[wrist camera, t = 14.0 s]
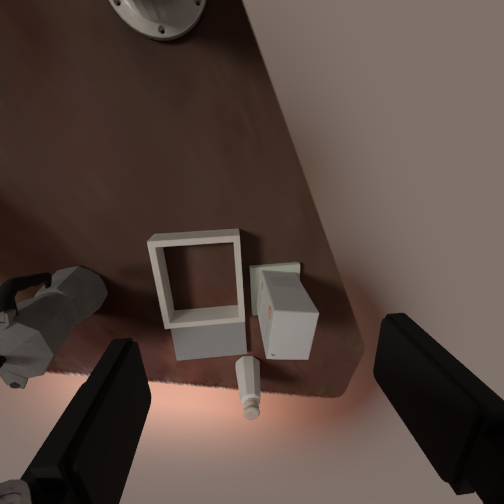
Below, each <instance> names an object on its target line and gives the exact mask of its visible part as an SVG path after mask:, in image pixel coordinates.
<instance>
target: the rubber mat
mask: <svg viewBox="0 0 504 504" xmlns="http://www.w3.org/2000/svg"><path fill="white" fill-rule="evenodd" d="M261 270H269V271H285V272H295V274H296V275H297V277H298V279H299V280H300V263H299V262H291V263H278V264H265V265H251V266H250V285H251V305H252V316H255V315H258V313H257V308H256V307H257V298H258V290H259V283H260V276H261Z"/></svg>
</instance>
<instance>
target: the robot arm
mask: <svg viewBox="0 0 504 504" xmlns="http://www.w3.org/2000/svg"><path fill="white" fill-rule="evenodd" d="M109 1H110V3H111V5H112V6H113V8H114V10H115V11H116V12H117V13H118V15H119V16H120V17H121V18H122V20H123V21H124V22H125V23H126V24H127V25H128V26H129V27H131V28H132V29H133V30H135V31H136V32H137V33H139V34H141V35H143V36H145V37H147V38H150V39H154V40H159V41H168V40H174V39H177V38H179V37H181V36H184V35H185V34H186V33H188V32H189V31H190V30H192V28H193V27H194V26H195V25H196V24H197V22H198V21H199V19H200V17H201V15H202V13H203V11H204V8H205V5H206V2H207V0H109ZM197 3H199V4H200V5H199V6H197V5H196V4H197ZM118 4H120V6H118ZM162 31H165V33H164V34H161V33H162ZM373 373H374V377H375V379H376V381H377V383H378V384H379V386H380V387H381V389H382V390H383V392H384V393H385V395H386V396H387V398H388V399H389V401H390V402H391V404H392V405H393V407H394V408H395V410H396V411H397V413H398V414H399V416H400V417H401V419H402V420H403V422H404V423H405V425H406V426H407V428H408V429H409V431H410V432H411V434H412V435H413V437H414V438H415V440H416V442H417V443H418V445H419V446H420V448H421V449H422V451H423V452H424V454H425V455H426V457H427V458H428V459H429V461H430V463H431V464H432V466H433V467H434V469H435V470H436V472H437V473H438V475H439V476H440V477H441V479H442V480H443V481H445V482H447V483H449V484H450V486H451V487H452V489H453V490H454V492H455V493H456V495H462V494H469V493H474V492H475V491H476V493H477V495H478V496H479V497H480V499H481V500H482V501H483V504H504V400H503V399H501V398H500V397H499V396H498V395H497V394H496V393H494V391H492V390H491V389H490V388H489V387H488V386H487V385H486V384H484V383H483V382H482V381H481V380H480V379H479V378H478V377H476V376H475V375H474V374H473V373H472V372H471V371H470V370H469V369H467V368H466V367H465V366H464V365H463V364H462V363H461V362H459V361H458V360H457V359H456V358H455V357H454V356H452V354H450V353H449V352H448V351H447V350H446V349H445V348H443V347H442V346H441V345H440V344H439V343H438V342H437V341H436V340H434V339H433V338H432V337H431V336H430V335H429V334H428V333H426V332H425V331H424V330H423V329H422V328H421V327H420V326H419V325H417V324H416V323H415V322H414V321H413V320H412V319H411V318H409V317H408V316H407V315H406V314H404V313H394V314H387V315H386V317H385V318H384V319H382V323H381V328H380V334H379V340H378V346H377V352H376V358H375V363H374V369H373ZM150 404H151V392H150V388H149V385H148V381H147V377H146V373H145V369H144V365H143V361H142V358H141V354H140V350H139V346H138V343H137V342H133V340H132V339H131V338H123V339H114V340H113V341H112V342H111V343H110V345H109V346H108V348H107V349H106V351H105V352H104V354H103V356H102V357H101V359H100V360H99V362H98V363H97V365H96V367H95V368H94V370H93V371H92V373H91V374H90V376H89V377H88V379H87V381H86V382H85V383H84V384H82V386H81V387H80V388H79V390H78V391H77V393H76V394H75V396H74V397H73V399H72V400H71V402H70V403H69V405H68V406H67V408H66V409H65V411H64V412H63V414H62V416H61V417H60V419H59V420H58V422H57V423H56V425H55V426H54V428H53V429H52V431H51V432H50V434H49V436H48V437H47V439H46V440H45V442H44V443H43V445H42V447H41V448H40V449H39V451H38V452H37V454H36V456H35V457H34V459H33V460H32V462H31V463H30V465H29V466H28V468H27V469H26V471H25V473H24V474H23V476H22V477H21V479H17V480H8V481H5V482H2V483H0V504H119V502H120V499H121V496H122V493H123V490H124V487H125V483H126V480H127V477H128V474H129V471H130V468H131V465H132V461H133V458H134V455H135V452H136V449H137V445H138V443H139V439H140V436H141V433H142V430H143V427H144V424H145V421H146V417H147V414H148V411H149V408H150Z"/></svg>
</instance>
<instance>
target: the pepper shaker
mask: <svg viewBox="0 0 504 504" xmlns="http://www.w3.org/2000/svg"><path fill="white" fill-rule="evenodd" d="M236 374H237V381H238V387H239V394H240V400H241V404H242V405H243V406H244V417H245V418H247V419H249V420H253V419H256V418H257V417H258V416H259V414H260V411H259V405H258V404H259V403H260V361H259V360H257V359H256V358H255V357H253V356H243V357H242V358H240V359H239V360H238V361H237V362H236Z"/></svg>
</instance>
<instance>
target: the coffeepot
mask: <svg viewBox="0 0 504 504" xmlns="http://www.w3.org/2000/svg"><path fill="white" fill-rule="evenodd" d="M42 282H44V286H43V287H42V288H41V289H40V290H39V291H38V292H37V294H36V295H35V297H34V298H31V299H28V300H24V301H22V302H20V303H18V304H16V303H15V295H16V294H17V292H18V291H22V290H24V289H26V288H28V287H31V286H38V285H40V284H41V283H42ZM107 295H108V292H107V289H106V286H105V283H104V282H103V280H102V279H101V277H100V276H99V275H98V274H96V273H95V272H93V271H91V270H89V269H86V268H82V267H80V266H76V267H69V268H66V269H61V270H58V271H57V272H56V273H55V274H54V275H53V276H51V274H50V273H40V274H35V275H29V276H23V277H15V278H11V279H9V280H7V281H5V282H4V283H3V284H2V285H1V286H0V377H1V378H2V379H3V381H4V382H5V383H6V384H7V385H9V386H10V387H11V388H21V389H24V388H25V386H26V384H27V380H28V378H30V377H35V376H40V375H44V373H45V372H46V370H47V369H48V367H49V365H50V364H51V362H52V361H53V359H54V358H55V356H56V354H57V353H58V351H59V350H60V348H61V347H62V345H63V344H64V342H65V340H66V339H67V337H68V336H69V334H70V332H71V331H72V329H73V327H74V326H76V325H78V324H79V323H81V322H82V321H83V320H85V319H86V318H88V317H89V316H90V315H92V314H93V313H94V312H96V311H97V310H98V309H100V307H101V306H102V304H103V302H104V301H105V298H106V297H107Z"/></svg>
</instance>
